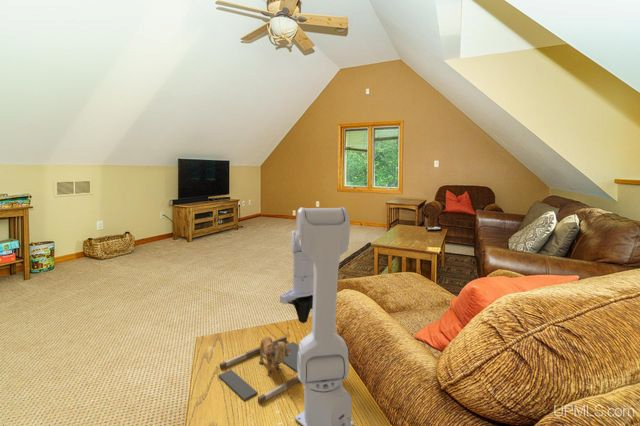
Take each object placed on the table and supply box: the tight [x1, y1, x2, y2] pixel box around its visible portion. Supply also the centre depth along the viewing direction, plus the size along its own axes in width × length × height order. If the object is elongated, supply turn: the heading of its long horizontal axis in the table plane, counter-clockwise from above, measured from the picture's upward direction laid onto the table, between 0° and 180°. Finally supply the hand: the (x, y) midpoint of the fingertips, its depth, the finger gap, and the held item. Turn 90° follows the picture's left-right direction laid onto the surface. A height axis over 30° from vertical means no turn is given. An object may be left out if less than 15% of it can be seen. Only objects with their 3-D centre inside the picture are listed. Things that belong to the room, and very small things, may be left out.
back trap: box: [282, 341, 299, 373], centre depth 92 cm, size 12×8×1 cm
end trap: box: [217, 369, 258, 401], centre depth 80 cm, size 12×4×1 cm, turn 44°
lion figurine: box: [257, 335, 291, 377], centre depth 87 cm, size 15×5×9 cm, turn 37°
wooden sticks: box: [219, 335, 301, 404], centre depth 87 cm, size 18×22×1 cm
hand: (302, 321), depth 93 cm, fingers closed
